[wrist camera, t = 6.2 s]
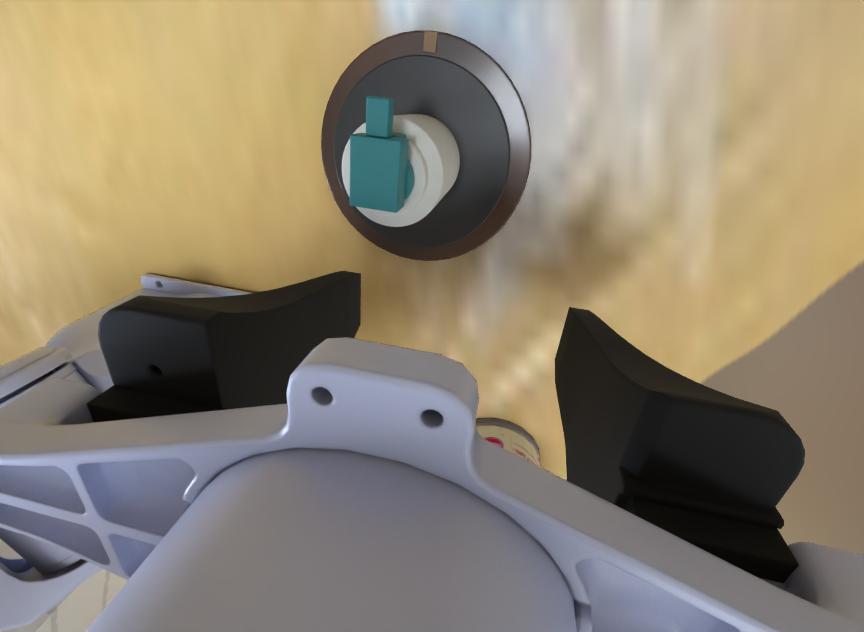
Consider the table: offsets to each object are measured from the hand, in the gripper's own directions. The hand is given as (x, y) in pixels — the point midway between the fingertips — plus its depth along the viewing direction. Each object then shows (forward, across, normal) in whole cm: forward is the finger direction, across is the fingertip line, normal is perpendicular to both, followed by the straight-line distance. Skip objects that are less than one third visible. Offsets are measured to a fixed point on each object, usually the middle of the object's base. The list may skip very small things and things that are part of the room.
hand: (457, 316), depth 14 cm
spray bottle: (+9, +4, -4) cm, 11 cm away
